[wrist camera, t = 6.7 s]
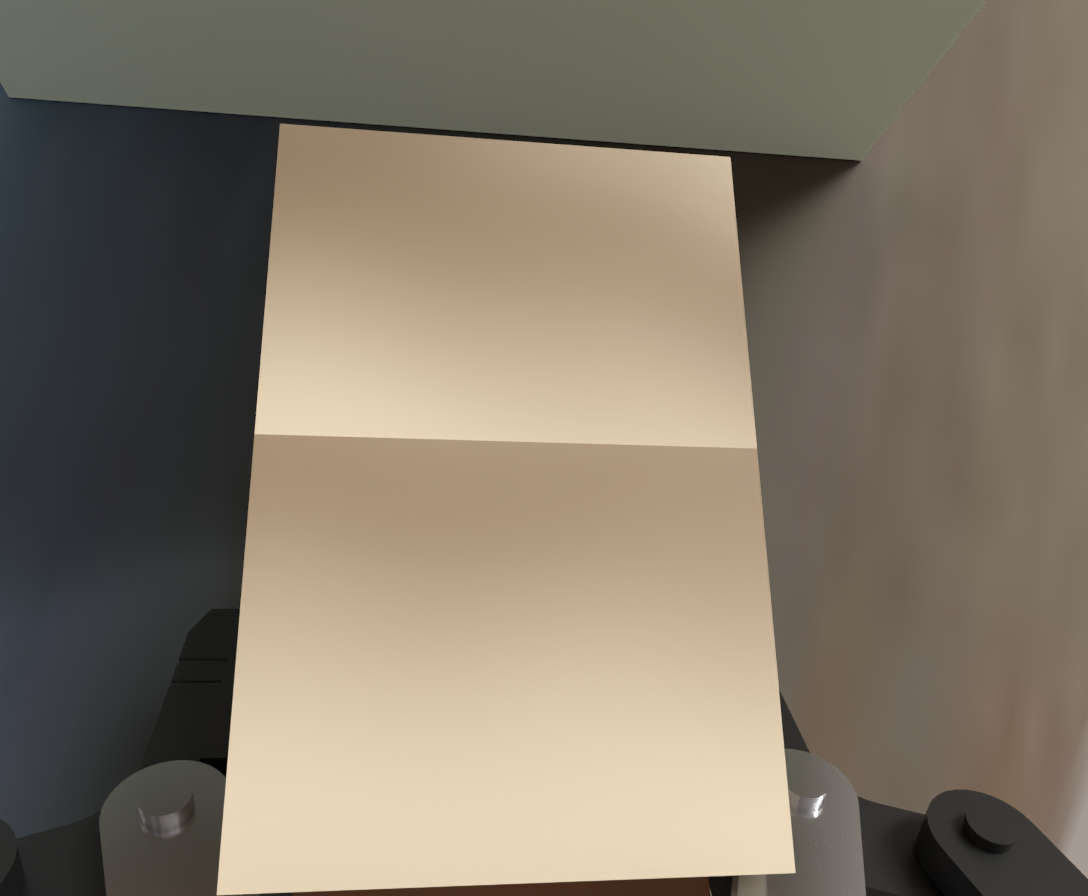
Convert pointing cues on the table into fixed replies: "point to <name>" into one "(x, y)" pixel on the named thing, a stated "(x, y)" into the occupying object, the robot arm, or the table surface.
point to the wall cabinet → (502, 532)
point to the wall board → (503, 64)
